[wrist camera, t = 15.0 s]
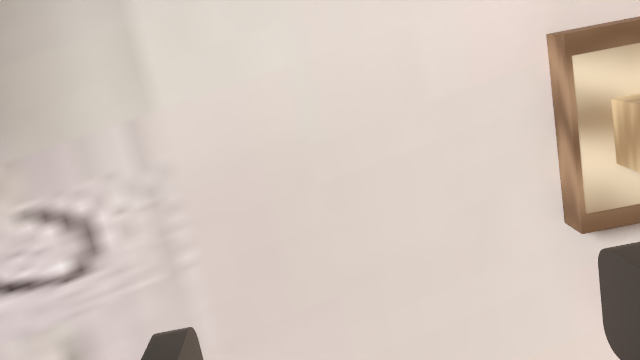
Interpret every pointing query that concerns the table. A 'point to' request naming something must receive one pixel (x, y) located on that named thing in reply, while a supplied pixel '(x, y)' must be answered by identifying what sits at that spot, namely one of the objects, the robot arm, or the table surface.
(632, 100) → the teal topped tan block
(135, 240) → the table surface
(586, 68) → the dock
